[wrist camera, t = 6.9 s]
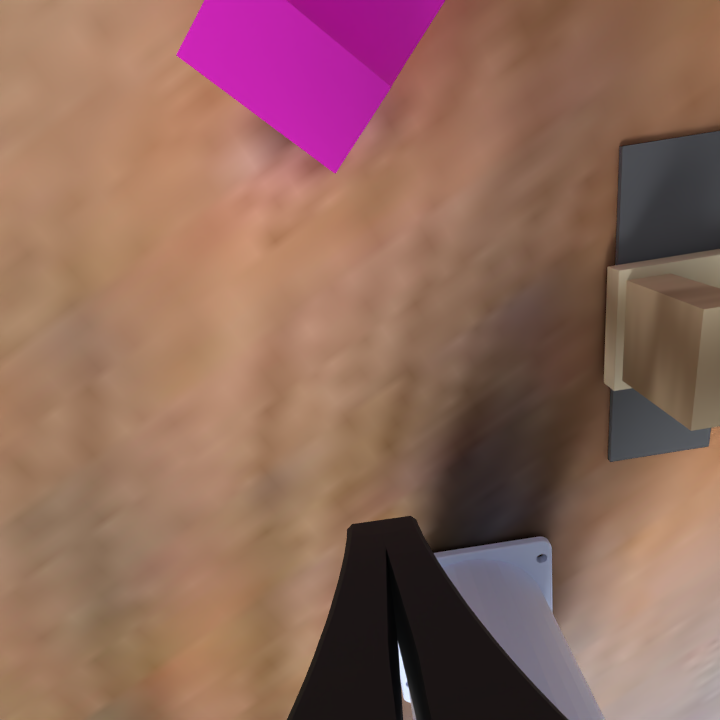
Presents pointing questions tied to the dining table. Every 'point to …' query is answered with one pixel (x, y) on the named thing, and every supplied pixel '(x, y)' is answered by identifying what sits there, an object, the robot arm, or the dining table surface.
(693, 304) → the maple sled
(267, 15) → the toy block
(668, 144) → the dark grey panel
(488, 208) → the dining table surface
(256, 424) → the dining table surface
